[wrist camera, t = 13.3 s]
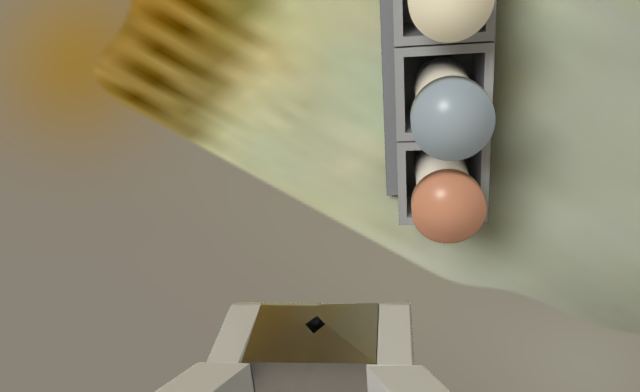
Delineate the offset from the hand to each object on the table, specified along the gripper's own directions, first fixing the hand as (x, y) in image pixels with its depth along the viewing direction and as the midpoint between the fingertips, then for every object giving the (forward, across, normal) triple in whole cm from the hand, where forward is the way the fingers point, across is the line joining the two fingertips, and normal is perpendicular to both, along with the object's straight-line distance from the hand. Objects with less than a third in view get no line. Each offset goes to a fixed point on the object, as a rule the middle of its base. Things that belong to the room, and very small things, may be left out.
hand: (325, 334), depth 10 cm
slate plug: (+28, -4, +2) cm, 28 cm away
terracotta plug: (+29, -4, +8) cm, 31 cm away
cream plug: (+29, -4, -3) cm, 30 cm away
